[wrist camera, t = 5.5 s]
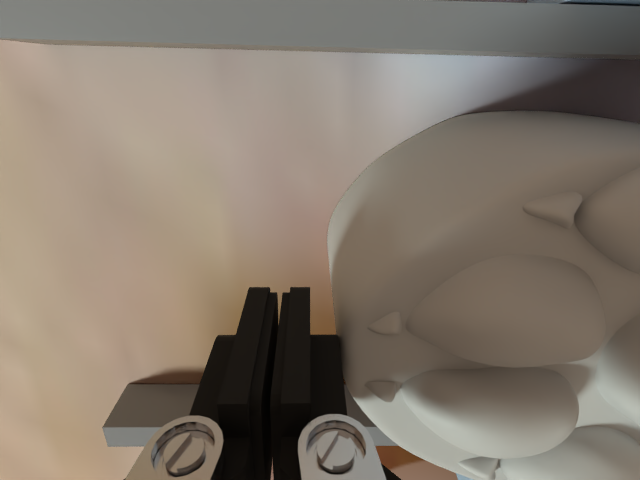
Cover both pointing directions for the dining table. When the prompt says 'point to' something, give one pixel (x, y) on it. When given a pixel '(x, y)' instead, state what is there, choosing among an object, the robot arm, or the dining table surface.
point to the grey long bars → (313, 35)
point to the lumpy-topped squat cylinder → (498, 295)
